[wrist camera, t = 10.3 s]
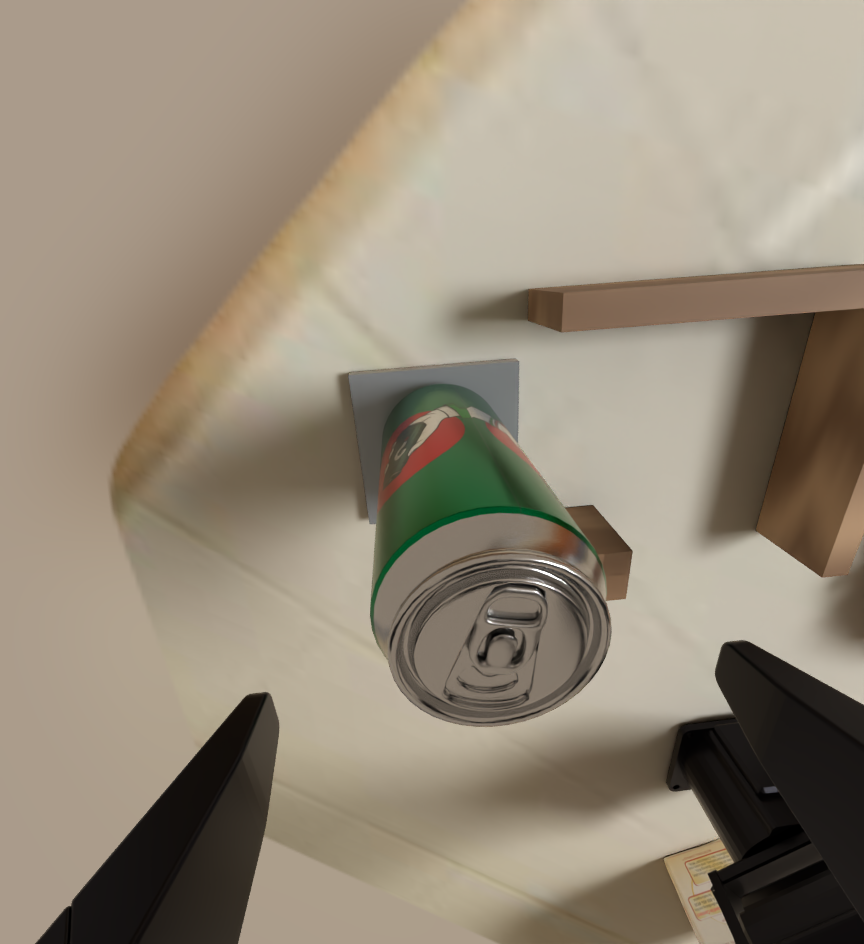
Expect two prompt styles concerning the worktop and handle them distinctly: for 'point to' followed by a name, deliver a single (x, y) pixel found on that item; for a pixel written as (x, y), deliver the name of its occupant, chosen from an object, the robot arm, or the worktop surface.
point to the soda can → (479, 569)
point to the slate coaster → (390, 386)
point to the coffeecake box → (701, 890)
